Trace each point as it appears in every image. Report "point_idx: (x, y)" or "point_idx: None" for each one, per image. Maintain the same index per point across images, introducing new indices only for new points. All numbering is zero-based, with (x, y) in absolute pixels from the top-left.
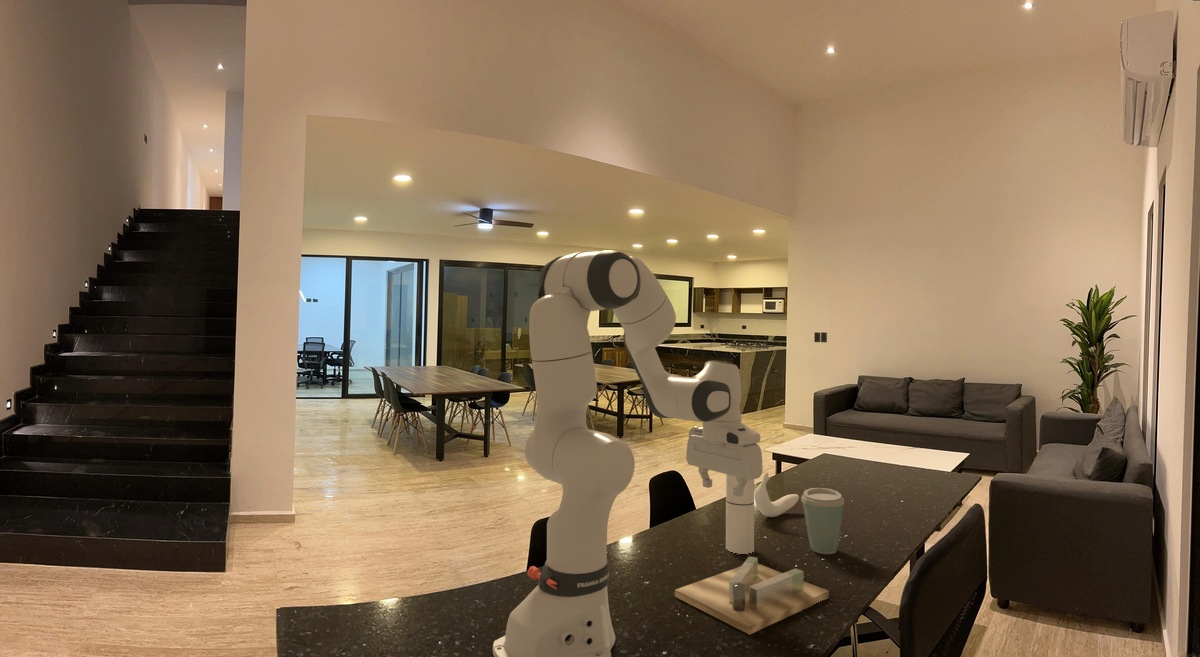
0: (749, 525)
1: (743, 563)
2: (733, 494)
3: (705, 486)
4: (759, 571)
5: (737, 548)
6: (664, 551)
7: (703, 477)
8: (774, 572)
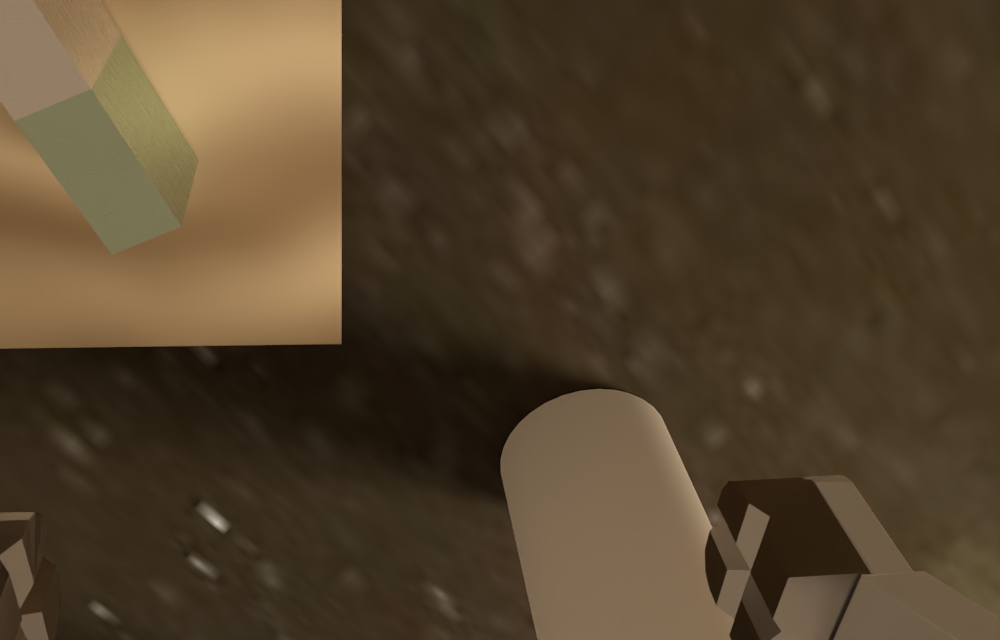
0: (535, 593)
1: (68, 56)
2: (28, 515)
3: (782, 481)
4: (193, 254)
5: (560, 424)
6: (963, 77)
7: (911, 609)
8: (119, 315)
